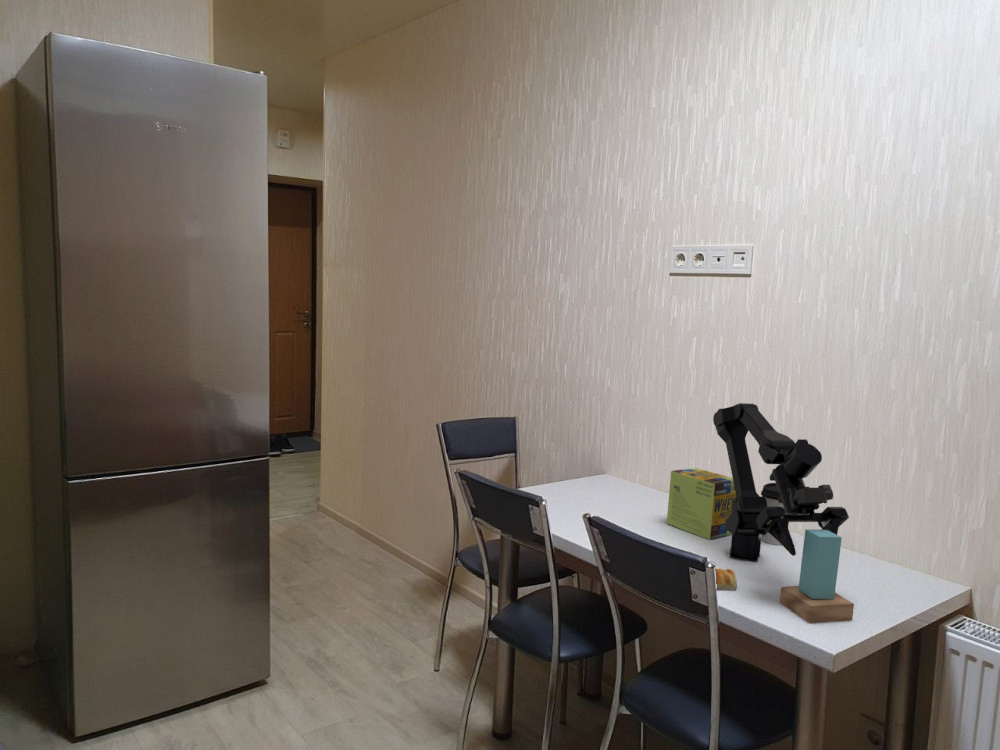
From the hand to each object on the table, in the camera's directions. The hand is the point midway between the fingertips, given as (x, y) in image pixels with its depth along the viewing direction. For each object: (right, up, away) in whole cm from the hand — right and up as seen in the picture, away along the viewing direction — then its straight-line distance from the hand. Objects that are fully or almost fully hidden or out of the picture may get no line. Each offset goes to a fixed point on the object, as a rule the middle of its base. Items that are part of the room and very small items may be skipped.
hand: (814, 554), depth 158 cm
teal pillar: (0, -8, -1) cm, 8 cm away
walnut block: (0, -12, -1) cm, 12 cm away
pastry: (-17, -10, +11) cm, 23 cm away
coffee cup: (+7, -7, +44) cm, 45 cm away
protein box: (-11, -5, +51) cm, 52 cm away
